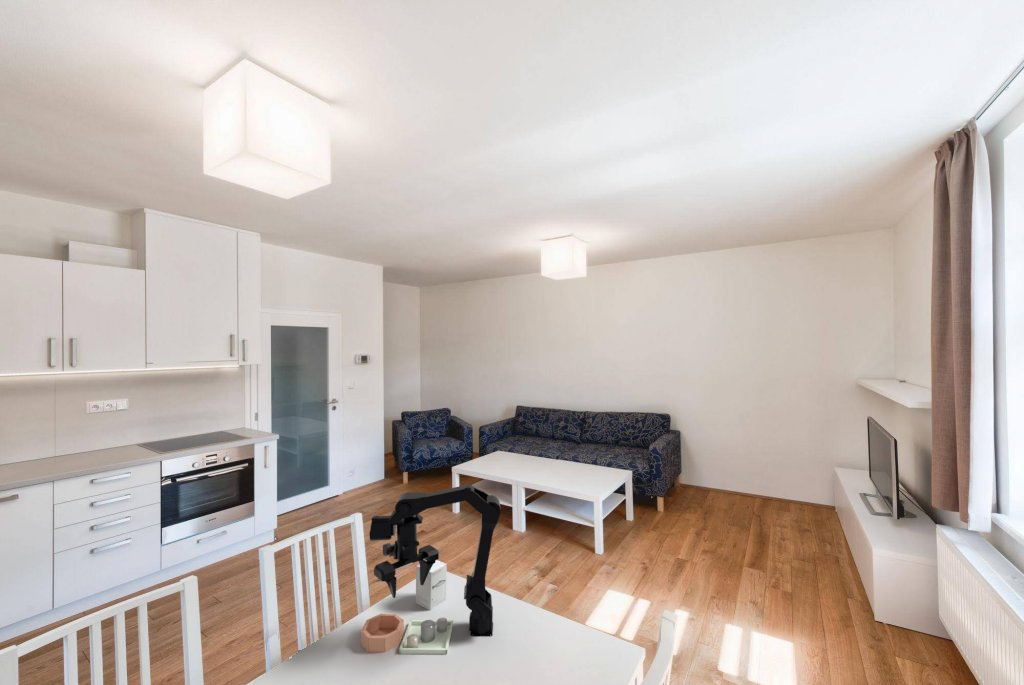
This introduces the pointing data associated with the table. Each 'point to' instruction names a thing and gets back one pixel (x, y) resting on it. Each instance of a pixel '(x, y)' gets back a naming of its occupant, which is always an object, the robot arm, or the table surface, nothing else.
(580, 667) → the table surface
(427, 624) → the grey rounded cylinder
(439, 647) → the tray
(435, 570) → the supplement box
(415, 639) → the pebble
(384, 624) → the bowl
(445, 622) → the pebble
